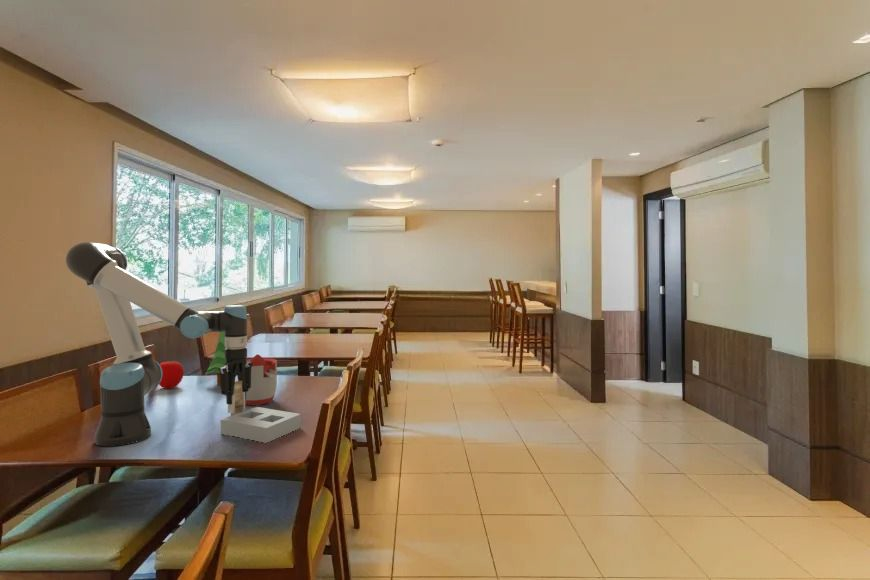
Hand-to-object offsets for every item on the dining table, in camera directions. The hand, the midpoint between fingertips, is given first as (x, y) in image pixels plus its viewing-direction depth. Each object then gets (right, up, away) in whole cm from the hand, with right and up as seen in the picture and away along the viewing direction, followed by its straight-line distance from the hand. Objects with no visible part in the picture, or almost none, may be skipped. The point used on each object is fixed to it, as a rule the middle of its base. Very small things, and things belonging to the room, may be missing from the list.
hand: (236, 410), depth 169 cm
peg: (0, -3, 0) cm, 3 cm away
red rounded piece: (-50, -1, +45) cm, 67 cm away
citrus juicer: (0, -2, +22) cm, 22 cm away
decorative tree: (-29, -1, +51) cm, 59 cm away
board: (+14, -4, -13) cm, 19 cm away
